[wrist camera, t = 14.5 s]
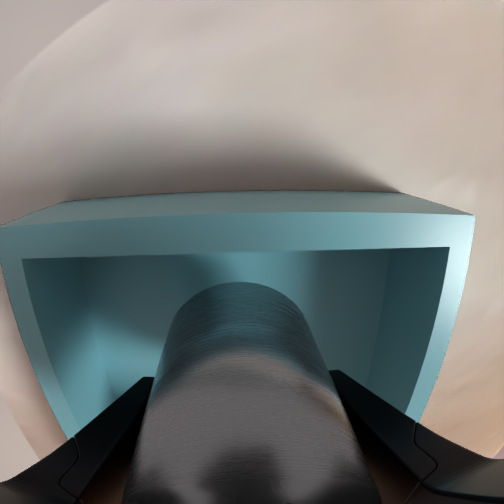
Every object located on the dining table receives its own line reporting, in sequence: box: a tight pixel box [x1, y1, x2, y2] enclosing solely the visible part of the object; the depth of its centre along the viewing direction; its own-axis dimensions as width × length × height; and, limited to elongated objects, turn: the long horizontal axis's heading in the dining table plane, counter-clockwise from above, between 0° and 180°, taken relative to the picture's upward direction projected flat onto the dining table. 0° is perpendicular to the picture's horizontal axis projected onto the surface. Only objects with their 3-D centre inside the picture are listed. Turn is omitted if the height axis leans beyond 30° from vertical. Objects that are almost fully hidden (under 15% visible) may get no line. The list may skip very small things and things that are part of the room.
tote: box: [0, 190, 475, 440], centre depth 13 cm, size 18×15×5 cm
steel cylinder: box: [122, 282, 382, 504], centre depth 7 cm, size 5×5×7 cm
